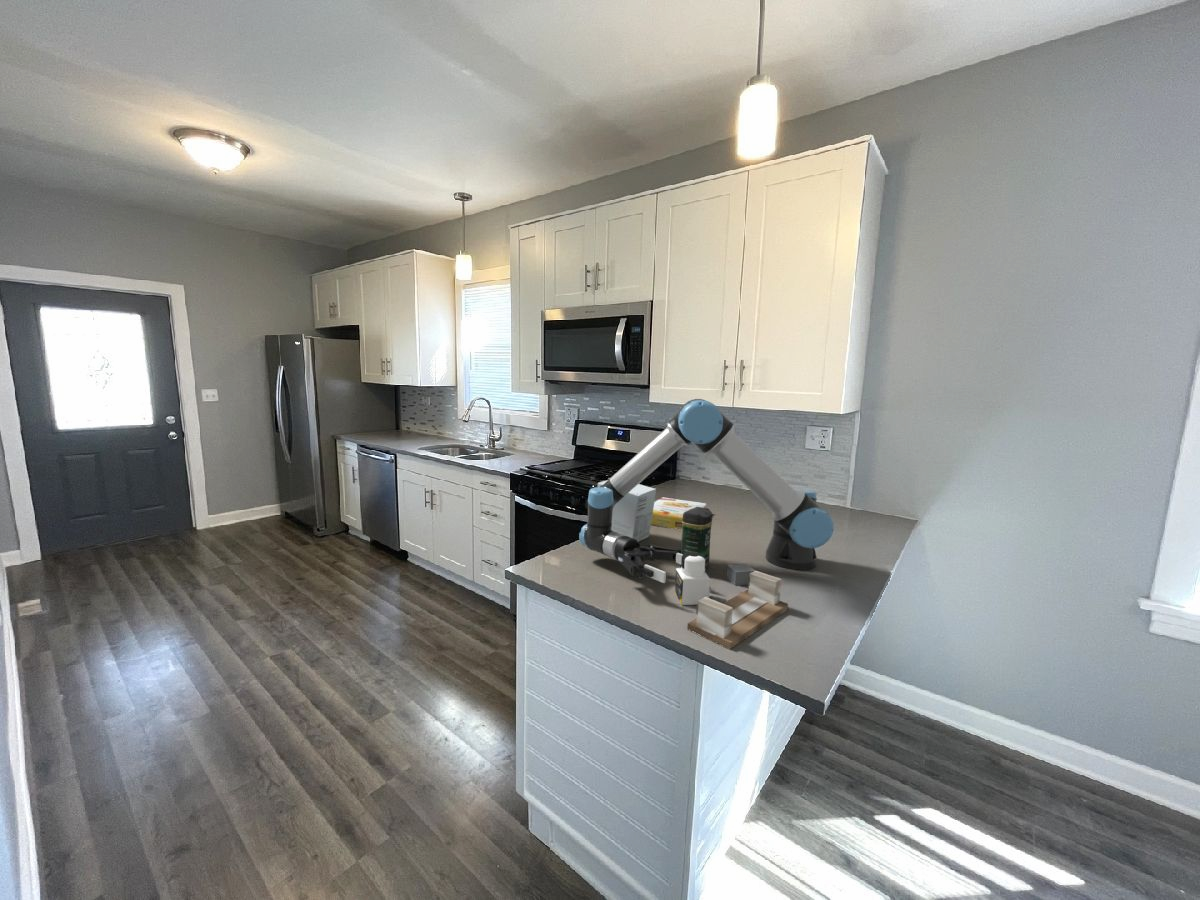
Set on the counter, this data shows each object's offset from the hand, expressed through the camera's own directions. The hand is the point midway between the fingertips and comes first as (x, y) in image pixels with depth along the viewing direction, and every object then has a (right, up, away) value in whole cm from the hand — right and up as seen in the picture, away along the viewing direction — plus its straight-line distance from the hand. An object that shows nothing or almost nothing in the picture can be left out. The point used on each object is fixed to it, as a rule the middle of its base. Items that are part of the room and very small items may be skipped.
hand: (681, 571), depth 126 cm
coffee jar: (+7, -4, +20) cm, 21 cm away
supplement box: (-14, +1, +48) cm, 50 cm away
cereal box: (+9, +3, +72) cm, 73 cm away
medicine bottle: (+3, -7, -1) cm, 8 cm away
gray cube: (+19, -6, +12) cm, 23 cm away
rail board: (+12, -9, -11) cm, 18 cm away
